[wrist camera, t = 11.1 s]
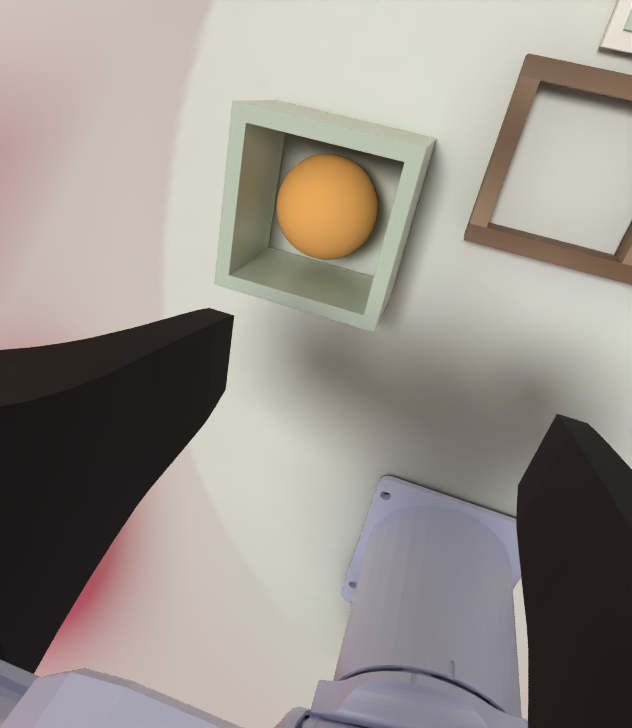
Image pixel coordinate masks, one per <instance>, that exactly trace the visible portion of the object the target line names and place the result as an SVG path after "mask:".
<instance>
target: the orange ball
mask: <svg viewBox="0 0 632 728" xmlns="http://www.w3.org/2000/svg"><path fill="white" fill-rule="evenodd" d="M377 210H378V204H377V196H376V192H375V188H374V186H373V184H372V181H371V180H370V178H369V176H368V175H367V174H366V172H365V171H364V170H363V169H362V168H361V167H360V166H359V165H357V164H356V163H355V162H353V161H351V160H350V159H348V158H345V157H343V156H339V155H334V154H322V155H316V156H312V157H310V158H307V159H305V160H303V161H302V162H300V163H299V164H297V165H296V166H295V167H294V168H293V169H292V170H291V171H290V172H289V173H288V175H287V176H286V177H285V179H284V181H283V183H282V185H281V187H280V190H279V193H278V198H277V216H278V221H279V224H280V227H281V230H282V232H283V234H284V235H285V237H286V238H287V240H288V241H289V242H290V243H291V244H292V245H293V246H294V247H295V248H296V249H297V250H299V251H300V252H302V253H304V254H305V255H308V256H310V257H313V258H317V259H324V260H327V259H337V258H340V257H344V256H346V255H348V254H350V253H352V252H354V251H355V250H356V249H358V248H359V247H360V246H361V245H362V244H363V243H364V242H365V241H366V240H367V238H368V237H369V235H370V233H371V231H372V230H373V227H374V224H375V222H376V217H377Z"/></svg>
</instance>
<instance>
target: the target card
mask: <svg viewBox="0 0 632 728" xmlns="http://www.w3.org/2000/svg"><path fill="white" fill-rule="evenodd" d="M599 47H600V48H605V49H610V50H615V51H620V52H625V53H630V54H632V0H618V2H617V4H616V7H615V9H614V12H613V14H612V17H611V19H610V22H609V24H608V26H607V29H606V31H605V34H604V36H603V39H602V41H601V44H600V46H599Z"/></svg>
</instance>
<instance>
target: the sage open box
mask: <svg viewBox="0 0 632 728" xmlns="http://www.w3.org/2000/svg"><path fill="white" fill-rule="evenodd" d="M285 132H286V133H290V134H294V135H298V136H302V137H306V138H310V139H314V140H318V141H322V142H326V143H330V144H334V145H338V146H342V147H346V148H350V149H354V150H358V151H362V152H366V153H370V154H374V155H378V156H382V157H386V158H390V159H394V160H398V161H402V162H404V166H403V170H402V173H401V177H400V181H399V185H398V188H397V192H396V196H395V200H394V203H393V207H392V211H391V215H390V219H389V222H388V226H387V230H386V234H385V237H384V241H383V245H382V249H381V252H380V256H379V260H378V264H377V268H376V271H375V275H374V277H371V276H368V275H364V274H361V273H357V272H354V271H350V270H347V269H343V268H340V267H336V266H333V265H329V264H326V263H322V262H319V261H315V260H312V259H308V258H305V257H301V256H298V255H294V254H291V253H287V252H284V251H280V250H277V249H273V248H270V247H268V245H269V238H270V231H271V225H272V218H273V211H274V205H275V198H276V191H277V185H278V178H279V171H280V165H281V158H282V151H283V145H284V138H285ZM435 141H436V138H432V137H428V136H424V135H420V134H416V133H411V132H407V131H403V130H399V129H395V128H391V127H386V126H382V125H378V124H374V123H370V122H365V121H361V120H357V119H353V118H349V117H345V116H340V115H336V114H332V113H328V112H324V111H320V110H315V109H311V108H307V107H303V106H299V105H294V104H290V103H286V102H282V101H278V100H260V101H232V111H231V121H230V131H229V141H228V151H227V161H226V171H225V182H224V192H223V202H222V212H221V222H220V232H219V242H218V253H217V263H216V273H215V283H214V284H215V285H218V286H221V287H225V288H228V289H231V290H235V291H238V292H241V293H245V294H248V295H251V296H255V297H258V298H261V299H265V300H268V301H271V302H275V303H278V304H281V305H285V306H288V307H291V308H295V309H298V310H301V311H304V312H308V313H311V314H314V315H318V316H321V317H324V318H328V319H331V320H334V321H338V322H341V323H344V324H348V325H351V326H354V327H358V328H361V329H364V330H368V331H371V332H375V330H376V327H377V325H378V323H379V321H380V318H381V316H382V314H383V312H384V309H385V307H386V305H387V303H388V300H389V298H390V296H391V293H392V290H393V286H394V283H395V279H396V276H397V272H398V269H399V265H400V262H401V259H402V255H403V252H404V248H405V245H406V241H407V238H408V234H409V231H410V227H411V224H412V220H413V217H414V214H415V210H416V207H417V203H418V200H419V196H420V193H421V189H422V186H423V182H424V179H425V175H426V172H427V169H428V165H429V162H430V158H431V155H432V151H433V148H434V144H435Z"/></svg>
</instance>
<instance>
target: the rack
mask: <svg viewBox="0 0 632 728" xmlns="http://www.w3.org/2000/svg"><path fill="white" fill-rule="evenodd" d="M540 82H543V83H548V84H552V85H557V86H562V87H566V88H571V89H575V90H580V91H585V92H589V93H594V94H599V95H603V96H608V97H612V98H617V99H622V100H626V101H631V102H632V75H628V74H624V73H619V72H614V71H609V70H605V69H600V68H595V67H590V66H585V65H581V64H576V63H571V62H566V61H562V60H557V59H552V58H547V57H542V56H538V55H533V54H527V55H526V57H525V60H524V63H523V66H522V68H521V71H520V74H519V77H518V80H517V83H516V86H515V89H514V92H513V95H512V97H511V100H510V103H509V106H508V109H507V112H506V115H505V118H504V121H503V124H502V126H501V129H500V132H499V135H498V138H497V141H496V144H495V147H494V150H493V153H492V155H491V158H490V161H489V164H488V167H487V170H486V173H485V176H484V179H483V182H482V184H481V187H480V190H479V193H478V196H477V199H476V202H475V205H474V208H473V211H472V213H471V216H470V219H469V222H468V225H467V228H466V231H465V234H464V240H466V241H470V242H474V243H478V244H481V245H485V246H489V247H493V248H496V249H500V250H504V251H508V252H511V253H515V254H519V255H523V256H526V257H530V258H534V259H538V260H541V261H545V262H549V263H553V264H556V265H560V266H564V267H568V268H571V269H575V270H579V271H583V272H586V273H590V274H594V275H598V276H601V277H605V278H609V279H613V280H616V281H620V282H624V283H628V284H631V285H632V223H631V225H630V227H629V229H628V231H627V233H626V235H625V237H624V239H623V241H622V243H621V245H620V247H619V249H618V251H617V253H616V255H612V254H608V253H604V252H600V251H596V250H593V249H589V248H585V247H581V246H577V245H573V244H569V243H566V242H562V241H558V240H554V239H550V238H546V237H543V236H539V235H535V234H531V233H527V232H523V231H519V230H516V229H512V228H508V227H504V226H500V225H496V224H492V223H489V220H490V217H491V214H492V212H493V209H494V206H495V203H496V201H497V198H498V195H499V192H500V190H501V187H502V184H503V181H504V179H505V176H506V173H507V171H508V168H509V165H510V162H511V160H512V157H513V154H514V151H515V149H516V146H517V143H518V140H519V138H520V135H521V132H522V129H523V127H524V124H525V121H526V118H527V116H528V113H529V110H530V107H531V105H532V102H533V99H534V96H535V94H536V91H537V88H538V86H539V83H540Z"/></svg>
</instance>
